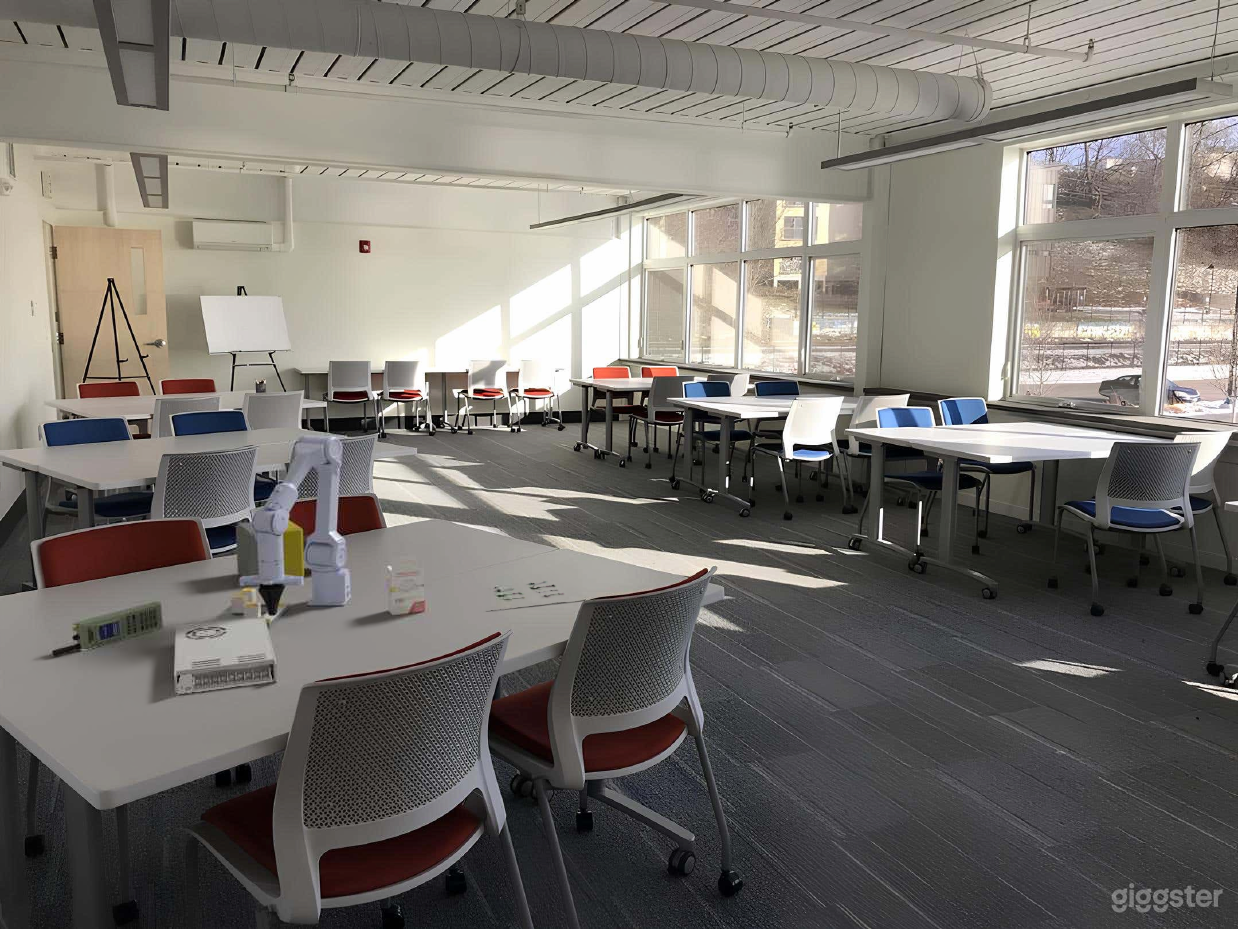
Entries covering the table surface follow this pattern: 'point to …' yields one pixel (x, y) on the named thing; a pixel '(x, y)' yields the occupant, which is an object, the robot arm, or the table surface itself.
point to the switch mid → (238, 603)
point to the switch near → (252, 610)
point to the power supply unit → (224, 653)
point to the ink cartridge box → (406, 585)
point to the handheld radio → (115, 627)
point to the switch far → (249, 594)
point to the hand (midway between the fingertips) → (273, 614)
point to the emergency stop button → (291, 550)
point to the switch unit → (264, 612)
